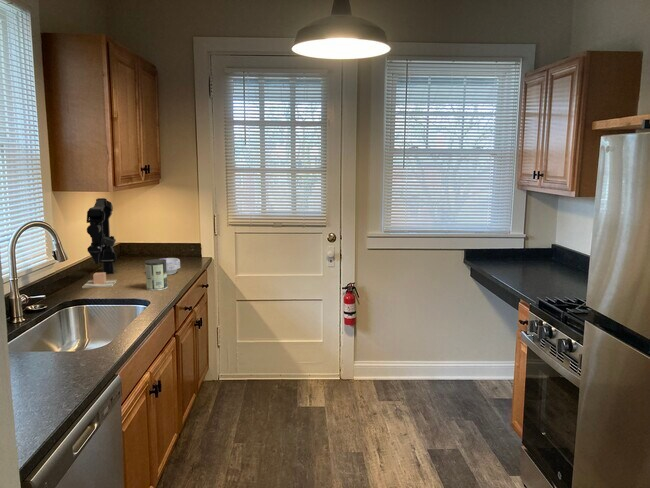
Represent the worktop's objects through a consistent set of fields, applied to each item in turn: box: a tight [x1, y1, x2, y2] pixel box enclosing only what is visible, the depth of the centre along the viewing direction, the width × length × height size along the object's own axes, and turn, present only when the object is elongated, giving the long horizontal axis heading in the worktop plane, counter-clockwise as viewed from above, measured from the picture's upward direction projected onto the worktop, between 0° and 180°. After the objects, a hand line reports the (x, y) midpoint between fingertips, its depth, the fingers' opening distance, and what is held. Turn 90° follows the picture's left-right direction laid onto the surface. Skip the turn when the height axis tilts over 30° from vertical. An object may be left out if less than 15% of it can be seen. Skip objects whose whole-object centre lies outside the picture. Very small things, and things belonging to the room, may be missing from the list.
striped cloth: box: [81, 278, 118, 289], centre depth 269 cm, size 14×14×1 cm
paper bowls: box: [162, 257, 181, 276], centre depth 294 cm, size 15×15×8 cm
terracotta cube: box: [92, 271, 107, 284], centre depth 268 cm, size 5×5×5 cm
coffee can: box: [144, 258, 168, 292], centre depth 260 cm, size 10×10×14 cm
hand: (99, 262), depth 272 cm, fingers open, 9 cm apart
